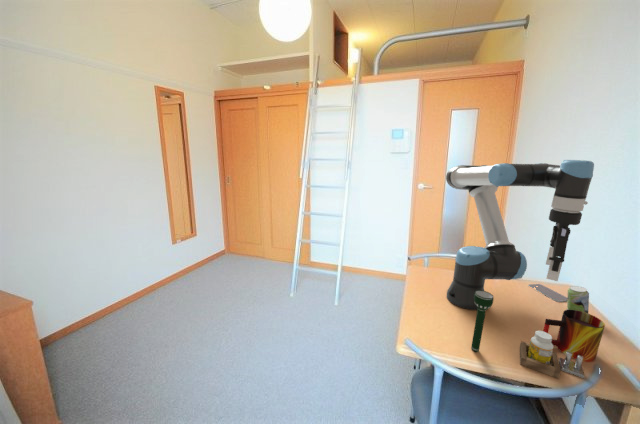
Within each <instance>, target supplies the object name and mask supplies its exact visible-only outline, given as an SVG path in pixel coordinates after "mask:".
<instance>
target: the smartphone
mask: <svg viewBox="0 0 640 424" xmlns="http://www.w3.org/2000/svg"><path fill="white" fill-rule="evenodd" d="M529 286H530V287H532V288H534V287H535V288H536V290H537V291H536V290H535V291H536V292H538V291H539V292H541V293H542V294H541V293H540V294H541V295H543V294H544V295H543V296H545V295H546V296H545V297H546V298H548V297H549V299H550V298H551V300H552V301H555V302H556V303H564V302H565V303H567V299H568V296H565V295H562V294H561V293H559V292H557V291H555V290H554V289H551V288H549V287H547V286H546V285H543V284H541V283H533V284H527V287H529ZM536 286H538V287H536ZM530 287H529V288H530ZM532 288H531V289H532ZM539 292H538V293H539Z"/></svg>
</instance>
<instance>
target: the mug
mask: <svg viewBox="0 0 640 424" xmlns="http://www.w3.org/2000/svg"><path fill="white" fill-rule="evenodd" d="M550 326H554V327H559V329H558V333H557V337H556V339H553V338H552V342H551V343H552V344H553V346H556V348H557V349H558V350H559V351H560V352H561V353H563V354H564V355H566V353H567V351H568V352H571V353H572V356H571V359H574V360H576V359H577V356H578V355H581V356H582V357H583V360H582V362H586V363H591V362H595V360H596V358H597V354H598V351H599V348H600V344H601V341H602V338H603V333H604V330H605V328H606V327H605V326H606V324H605V322H604V321H603V320H601V319H600V318H598V317H597V316H595V315H593V314H590V313H589V312H588V313H585V312H582V311H577V310H567V309H565V310H564V311H563V312H562V315H561V320H558V319H552V318H545V321H544V326H543V329H542V331H543V332H546V333H548V334H549V330H550Z"/></svg>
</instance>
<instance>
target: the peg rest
mask: <svg viewBox="0 0 640 424" xmlns="http://www.w3.org/2000/svg"><path fill="white" fill-rule="evenodd" d="M571 356H572V353H571V352H568V351H567V353H566V354H565V358H562V357H559V358H558V361H559V366H560V371H561V372H562V371H563V372H565V373H568V374H569V375H573V374H574V375H573V376H575V375H576V377H578V376H579V378H580V379H581V378H582V379H585V371H584V368H583V364H582V363H583V361H582V360H583V357H582V356H581V355H578V356H577V359H575V362H574V361H571V360H572V357H571Z"/></svg>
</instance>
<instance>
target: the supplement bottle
mask: <svg viewBox="0 0 640 424" xmlns="http://www.w3.org/2000/svg"><path fill="white" fill-rule="evenodd" d="M552 339H553V337H552V335H551V334H550V333H549V332H548V333H546V332H543V330H535V332H534V336H532V337H531V338H530V343H529V344H530V346H529V351H528V353H527V354H526V355H527V357H528V358H531V359H534V360H537V361H539V362H542V363H545V364H548V365H551V361H550V360H551V355H552V351H553V352H554V345H553V344H552V343H551V342H552Z"/></svg>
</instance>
